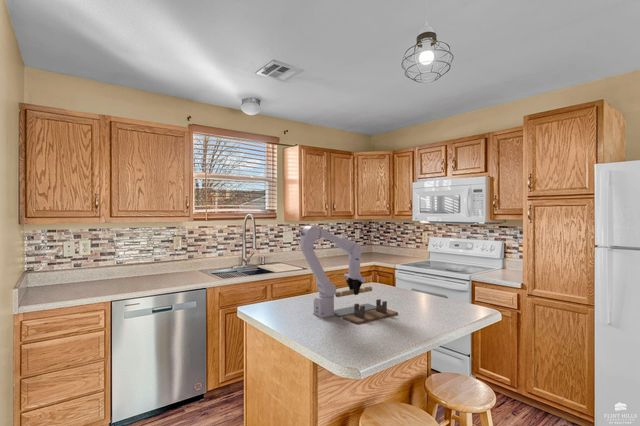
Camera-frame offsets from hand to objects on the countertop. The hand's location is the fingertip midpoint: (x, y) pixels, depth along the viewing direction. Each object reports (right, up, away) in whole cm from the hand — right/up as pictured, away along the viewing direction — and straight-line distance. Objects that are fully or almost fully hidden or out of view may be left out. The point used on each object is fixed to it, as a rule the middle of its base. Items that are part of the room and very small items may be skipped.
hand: (354, 294), depth 170 cm
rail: (0, 0, 0) cm, 0 cm away
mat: (0, -8, 0) cm, 8 cm away
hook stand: (+7, -8, -10) cm, 15 cm away
